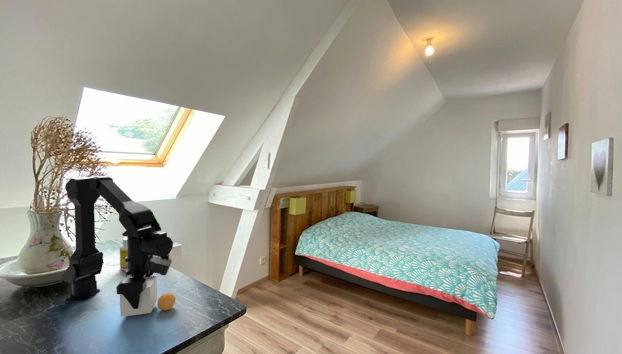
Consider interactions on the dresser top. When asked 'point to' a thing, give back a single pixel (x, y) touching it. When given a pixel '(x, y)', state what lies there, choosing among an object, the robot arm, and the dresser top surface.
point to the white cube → (141, 299)
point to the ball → (166, 301)
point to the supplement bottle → (123, 255)
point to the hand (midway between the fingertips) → (140, 301)
